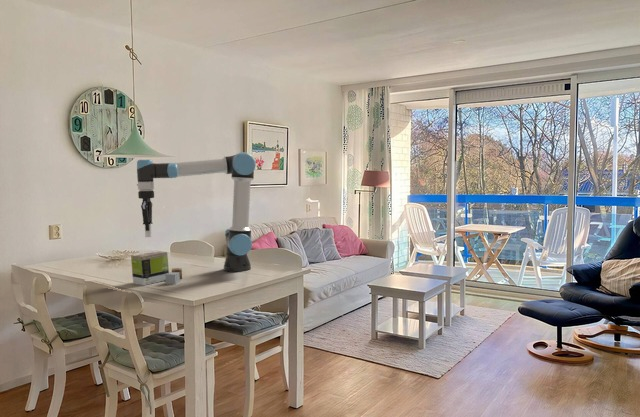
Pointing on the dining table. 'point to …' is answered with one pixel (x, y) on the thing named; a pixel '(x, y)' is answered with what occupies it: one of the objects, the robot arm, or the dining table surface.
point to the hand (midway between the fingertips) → (148, 236)
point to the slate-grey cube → (172, 278)
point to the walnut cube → (178, 271)
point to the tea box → (149, 267)
